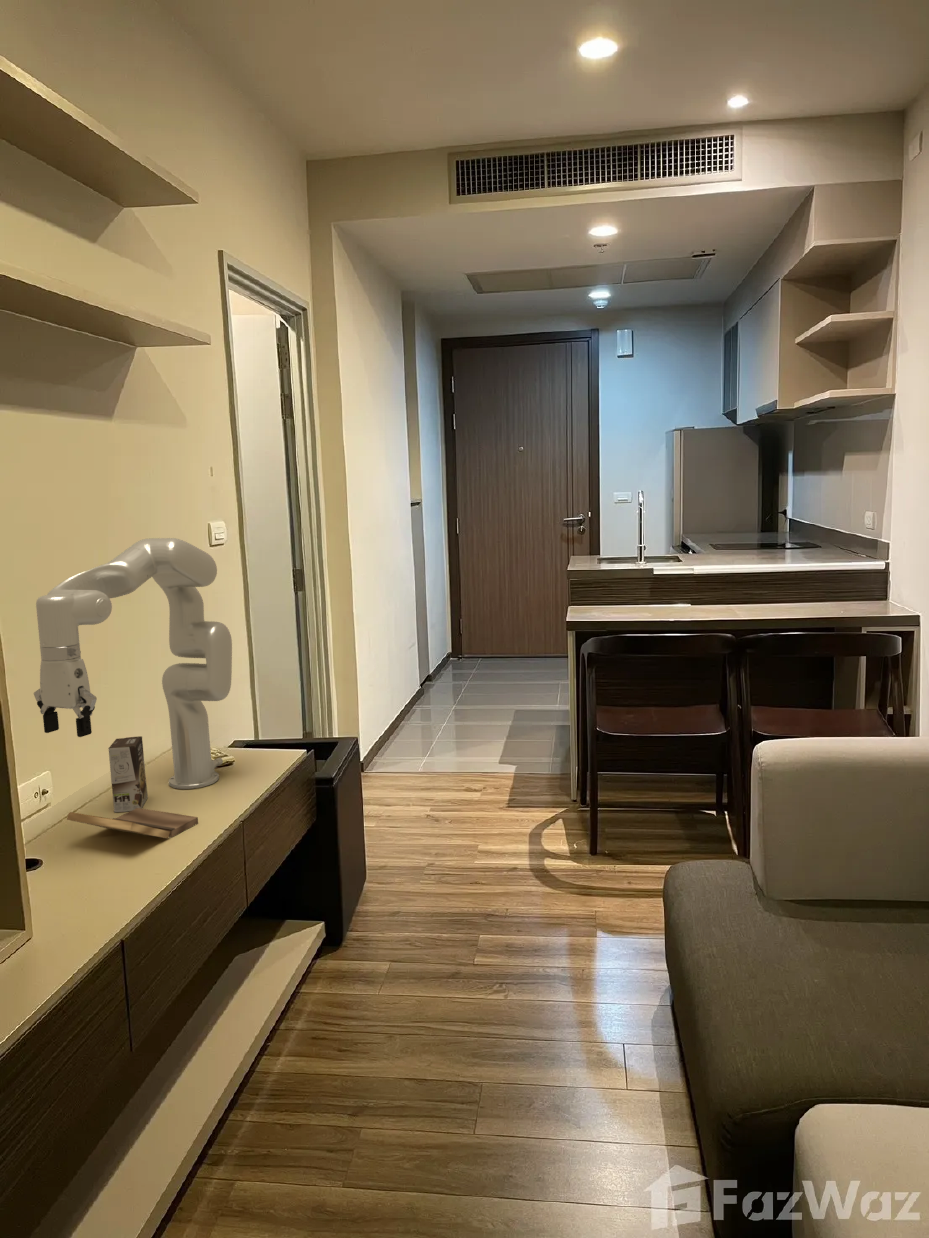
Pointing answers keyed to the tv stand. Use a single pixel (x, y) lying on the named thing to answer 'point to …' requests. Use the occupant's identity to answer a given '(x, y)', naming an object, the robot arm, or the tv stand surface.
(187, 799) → the tv stand surface
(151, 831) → the oak plank
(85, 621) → the robot arm
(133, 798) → the coffee box
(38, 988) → the tv stand surface
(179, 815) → the walnut board
